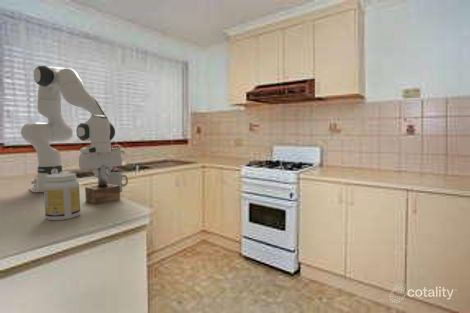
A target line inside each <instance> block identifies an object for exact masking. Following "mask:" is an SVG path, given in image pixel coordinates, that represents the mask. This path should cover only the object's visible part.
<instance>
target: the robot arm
mask: <svg viewBox="0 0 470 313" xmlns="http://www.w3.org/2000/svg"><path fill="white" fill-rule="evenodd" d="M33 79H34V82H35V83H36V84H37V85H38V91H37V106H36V109H37V112H38V113H39V114H40V115H41V116H43V117H45V118H47V122H29V123H24V125H23V126H22V127H21V130H20V135H21V137H22V138H23V140H25V141H26V142H28V143H29V144H30V145H31V146H33V148H34V149H35V151H36V155H37V161H38V162H37V163H38V166H37V174H36V175H35V176H34V178H33V179H31V183H30V184H32V185H33V186H29V190H30V191H31V192H32V193H44V188H43V187H44V184H45V183H46V182H47V181H46V180H45V179H46V176H47V175H51V174H59V173H63V166H62V158H61V157H62V156H61V155H62V154H61V151H59V149H56V148H54V147H52V146H51V145H50V143H56V142H57V143H58V142H59V143H60V142H67V141H69V140H70V139H71V138H72V137H73V135H74V134H73V133H74V131H73V129H72V126H71V125H69V124H68V123H67V122H66V121H65V120H64V118H63V114H62V109H61V108H62V107H61V106H62V105H61V104H62V103H61V102H62V97H63V99H64V100H65V102H66V103H68V104H69V105H73V107H78V108H81V109H83V110H85V111H88V112H89V113H90V116H89V119H87V120H86V121H83V122H81V123H79V124H78V125H77V127H76V131H75V132H76V136H77V138H78V139H79V140H80V141H81V142H90V144H89V145H87V146H84V147H81V148H80V150H79V152H80V154H79V156H78V167H79V169H81V170H90V169H91V172H92V173H93V174H94V178H97V179H98V177H99V174H98V169H97V168H101V167H102V165H106V169H107V176H110V172H112V169H113V168H112V167H119V166H122V165H123V159H122V158H123V157H122V149H120V148H119V147H112V143H111V141H112V140H113V139H114V138H115V136H116V128H115V127H114V125H113V123H111V122H110V121H109V117H107V115H106V114H105V112H104V111H103V109H102V107H101V106H100V103H99V102H98V101H97V100H96V99H95V98H94V96H92V95H91V94H90V93H89V92H88V91H87V89H86V87H85V86H84V83H83V81H82V79H81V76H80V74H79V73H78V72H77V71H75V70H74V69H73V68H69V67H66V68H65V67H55V66H47V65H38V66H37V67H35V69H34V70H33Z"/></svg>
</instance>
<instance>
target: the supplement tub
mask: <svg viewBox="0 0 470 313" xmlns="http://www.w3.org/2000/svg"><path fill="white" fill-rule="evenodd" d="M45 180H46V181H47V182H46V183H45V184H44V187H43V188H44V192H43V200H44V214H45V215H44V216H45V218H46V220H48V221H65V220H71V219H74V218H76V217H79V215H80V214H81V197H80V196H81V195H80V183H79V181H78V180H77V174H76V173H75V172H62V173H59V174H51V175H47V176H46V179H45Z"/></svg>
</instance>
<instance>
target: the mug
mask: <svg viewBox="0 0 470 313" xmlns="http://www.w3.org/2000/svg"><path fill="white" fill-rule="evenodd" d="M122 178H125V183H123V182H122V181H123V179H122ZM128 183H129V179H128V176H127V175H126V174H122V172H121V171H110V176H107V184H113V185H118V186H120V193H122V192H123V187H126V186H128Z"/></svg>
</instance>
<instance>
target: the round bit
mask: <svg viewBox="0 0 470 313" xmlns="http://www.w3.org/2000/svg"><path fill="white" fill-rule="evenodd" d="M107 170H108V169H107V167H106V165H102V167H101V168H97V173H98V174H99V177H97V185H98V187H99V188H102V187H107Z"/></svg>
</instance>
